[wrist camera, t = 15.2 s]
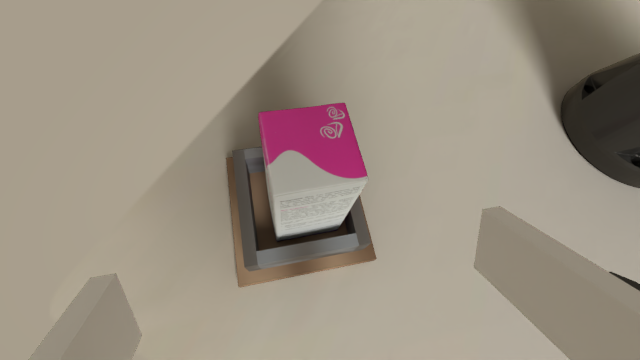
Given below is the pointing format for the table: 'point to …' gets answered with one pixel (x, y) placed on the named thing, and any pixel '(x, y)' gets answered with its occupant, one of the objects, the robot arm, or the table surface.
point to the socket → (290, 255)
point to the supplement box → (310, 168)
